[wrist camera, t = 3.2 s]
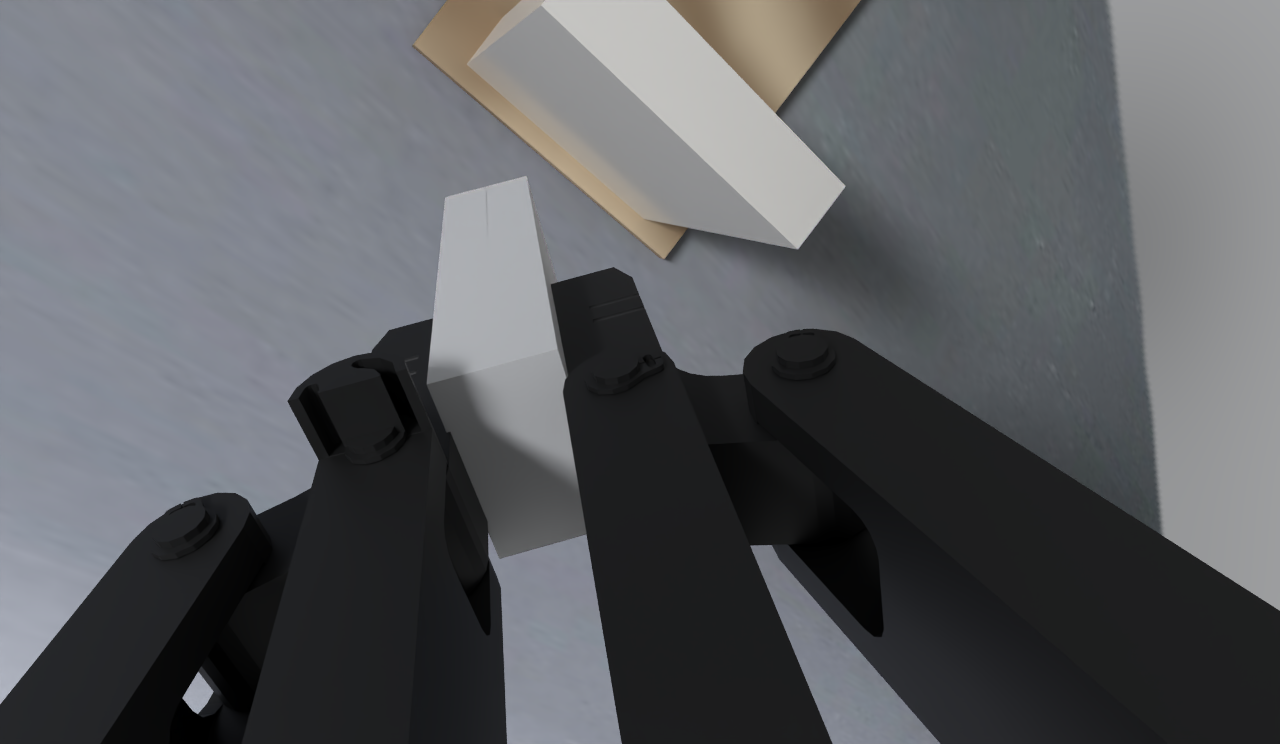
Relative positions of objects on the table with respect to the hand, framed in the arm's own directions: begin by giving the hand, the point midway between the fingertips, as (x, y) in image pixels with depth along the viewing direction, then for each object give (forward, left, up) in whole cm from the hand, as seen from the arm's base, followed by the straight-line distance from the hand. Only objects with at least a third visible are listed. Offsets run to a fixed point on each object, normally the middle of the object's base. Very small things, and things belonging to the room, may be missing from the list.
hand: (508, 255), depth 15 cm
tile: (+4, +6, -21) cm, 22 cm away
